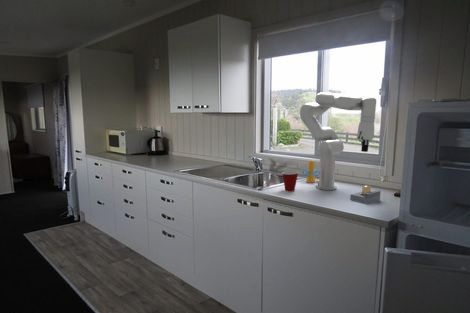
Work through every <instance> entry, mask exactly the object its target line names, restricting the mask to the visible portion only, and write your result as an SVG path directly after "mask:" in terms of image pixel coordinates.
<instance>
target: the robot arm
mask: <svg viewBox="0 0 470 313" xmlns="http://www.w3.org/2000/svg"><path fill="white" fill-rule="evenodd" d="M314 98H315V99H314V100H315V102H307V103H304V104H302V105H301V107H300V109H299V116H300V120H301V121H302V123H303V124H304V125H305V127H306V128H307V130H308V131H309V133H310V134H311V136H312V138H313V139H314V140H315V141H316V142H317V143H318V142H319V143H320V144H319V145H318V153H319V172H320V175H319V177H318V178H319V179H315V182H314V183H315V184H316V189H318V190H322V191H335V190H337V188H338V187H337V186H336V185H335V175H336V174H335V171H336V159H335V156H334V155H338V154H341V153H342V152H343V151H344V148H345V147H344V143H343V141H342V139H341V138H340V136H339V135H338V133H336V131H335V130H334V129H333V128H332V127H329V126H322V124H321V123H320V121H319V120H318V118H316V116H322V115H323V114H325V113H327V111H329V110H330V109H331V108H334V109H339V110H345V111H361V112H360V121H359V124H358V127H357V132H356V139H357V140H358V142H360V143H361V150H360V151H361V152H365V153H367V152H369V145H370V142H372V141H373V139H374V137H375V119H376V110H377V109H376V108H377V98H375V97H356V96H344V95H340V94H339V93H333V92H319V93H317V94H316V96H315V97H314ZM314 116H315V117H314Z"/></svg>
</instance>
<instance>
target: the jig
mask: <svg viewBox="0 0 470 313" xmlns="http://www.w3.org/2000/svg"><path fill="white" fill-rule="evenodd" d="M349 196H350V200H351V201H356V202H359V203H364V204H372V203H376V202H379V201H381V190H378V189H377V190H373V191H371V192H368V193H365V196H362V191H360V192H359V191H358V192H354V193H350V195H349Z"/></svg>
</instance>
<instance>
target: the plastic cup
mask: <svg viewBox="0 0 470 313" xmlns="http://www.w3.org/2000/svg"><path fill="white" fill-rule="evenodd" d="M281 175H282V179H283V185H284V190H285V192H295V190H296V185H297V179H298V175H299V171H283V172H281Z"/></svg>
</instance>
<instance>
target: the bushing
mask: <svg viewBox="0 0 470 313" xmlns="http://www.w3.org/2000/svg"><path fill="white" fill-rule="evenodd" d="M371 190H372V186H371V185H362V190H361V192H362V196H365V193H368V192H372V191H371Z"/></svg>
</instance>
